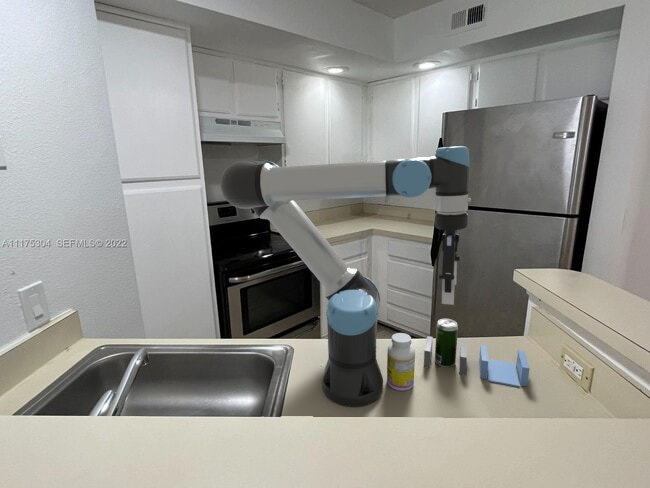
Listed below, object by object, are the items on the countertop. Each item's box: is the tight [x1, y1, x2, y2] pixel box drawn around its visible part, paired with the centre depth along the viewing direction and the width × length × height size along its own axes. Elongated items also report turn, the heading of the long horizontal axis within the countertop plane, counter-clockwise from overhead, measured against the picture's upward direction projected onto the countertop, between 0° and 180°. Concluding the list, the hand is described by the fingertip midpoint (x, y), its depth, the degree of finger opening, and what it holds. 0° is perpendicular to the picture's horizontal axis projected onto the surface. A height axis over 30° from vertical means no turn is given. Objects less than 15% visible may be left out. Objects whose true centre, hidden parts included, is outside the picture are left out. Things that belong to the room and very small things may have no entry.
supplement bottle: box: [386, 332, 416, 392], centre depth 85 cm, size 7×7×13 cm
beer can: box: [434, 318, 459, 369], centre depth 93 cm, size 5×5×12 cm
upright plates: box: [423, 336, 531, 387], centre depth 92 cm, size 24×8×5 cm, turn 68°
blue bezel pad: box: [487, 358, 520, 388], centre depth 90 cm, size 7×10×1 cm
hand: (449, 293), depth 89 cm, fingers open, 13 cm apart
